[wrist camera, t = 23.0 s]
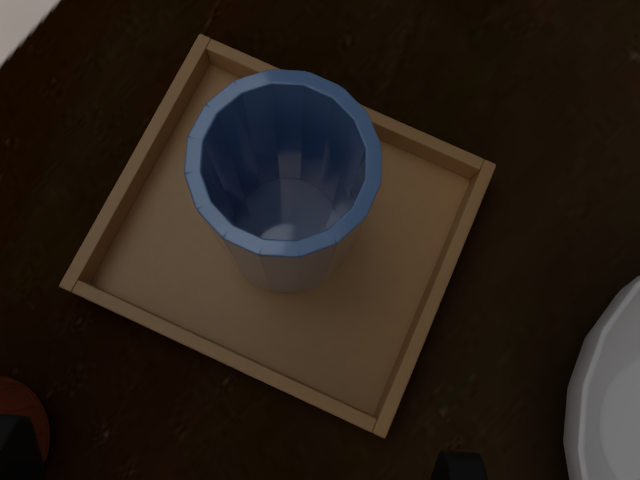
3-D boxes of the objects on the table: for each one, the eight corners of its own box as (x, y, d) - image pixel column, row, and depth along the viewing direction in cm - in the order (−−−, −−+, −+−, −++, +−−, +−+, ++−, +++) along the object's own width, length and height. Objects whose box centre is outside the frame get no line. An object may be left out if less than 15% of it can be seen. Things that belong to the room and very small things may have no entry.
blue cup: (203, 261, 26) (149, 205, 16) (258, 153, 27) (238, 40, 17) (318, 314, 26) (333, 289, 16) (368, 203, 27) (411, 116, 17)
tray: (76, 291, 26) (57, 286, 24) (206, 54, 29) (199, 32, 27) (378, 432, 25) (385, 439, 23) (482, 177, 28) (497, 164, 26)
